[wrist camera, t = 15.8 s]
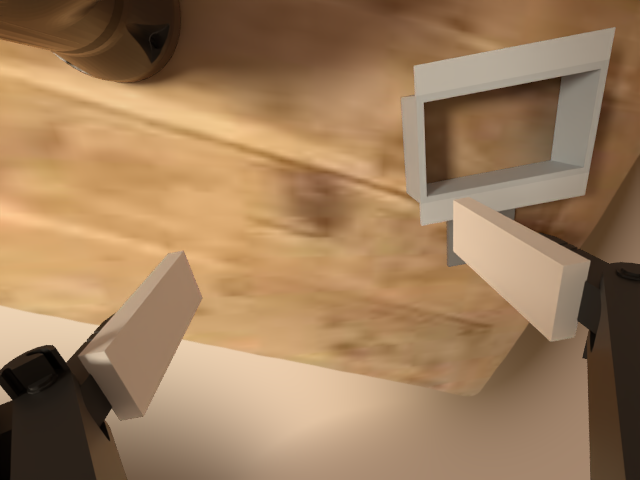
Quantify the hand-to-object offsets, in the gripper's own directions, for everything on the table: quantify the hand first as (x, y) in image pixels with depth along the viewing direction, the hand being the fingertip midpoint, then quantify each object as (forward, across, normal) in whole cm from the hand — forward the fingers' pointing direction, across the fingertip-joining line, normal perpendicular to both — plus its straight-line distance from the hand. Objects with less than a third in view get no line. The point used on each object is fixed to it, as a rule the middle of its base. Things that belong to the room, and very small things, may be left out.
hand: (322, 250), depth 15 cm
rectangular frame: (+29, +24, -1) cm, 37 cm away
